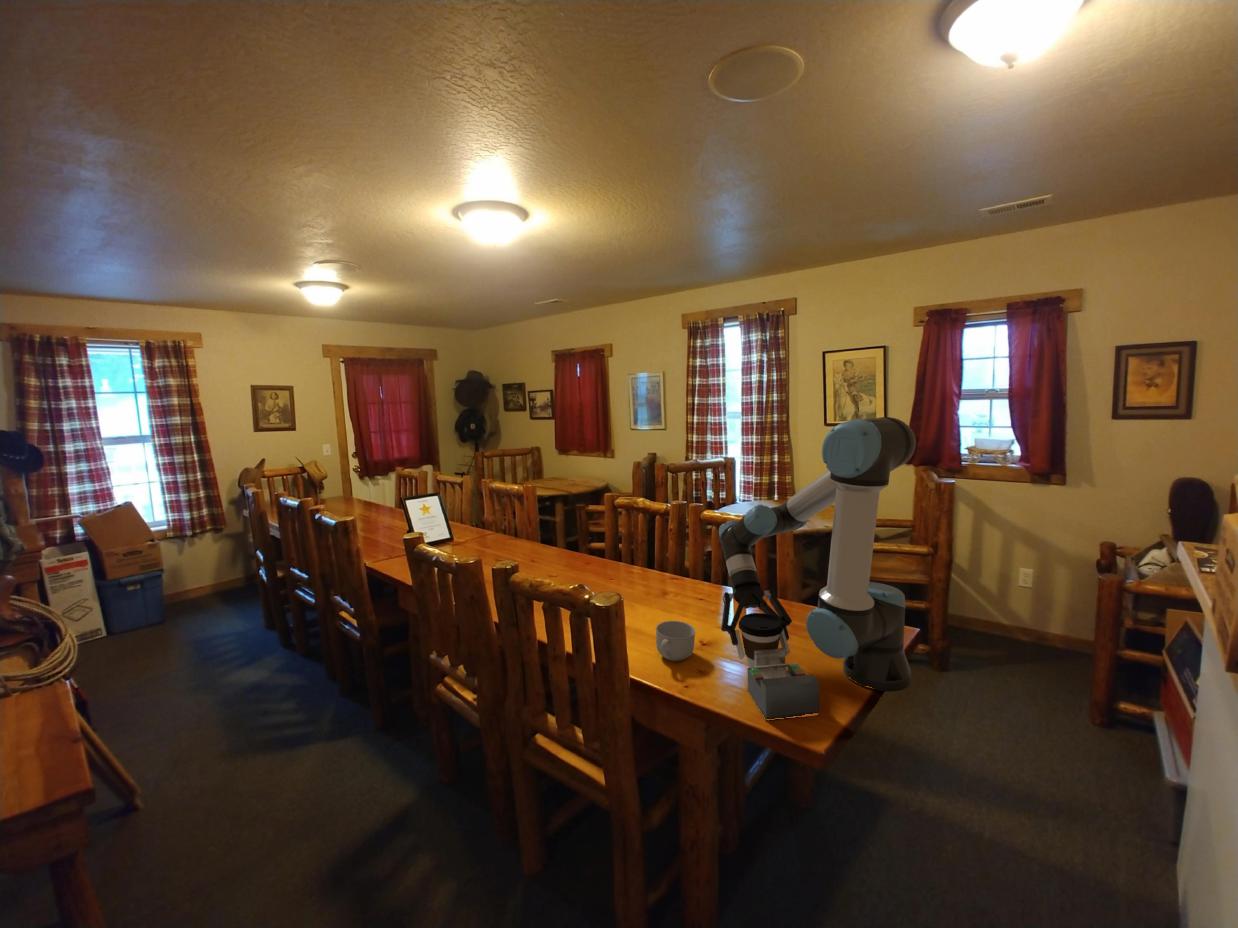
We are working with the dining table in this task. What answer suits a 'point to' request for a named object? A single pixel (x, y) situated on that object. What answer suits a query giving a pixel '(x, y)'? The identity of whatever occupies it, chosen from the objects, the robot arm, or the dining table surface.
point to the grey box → (784, 693)
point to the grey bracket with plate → (772, 663)
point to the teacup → (675, 640)
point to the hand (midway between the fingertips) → (764, 655)
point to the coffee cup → (759, 633)
